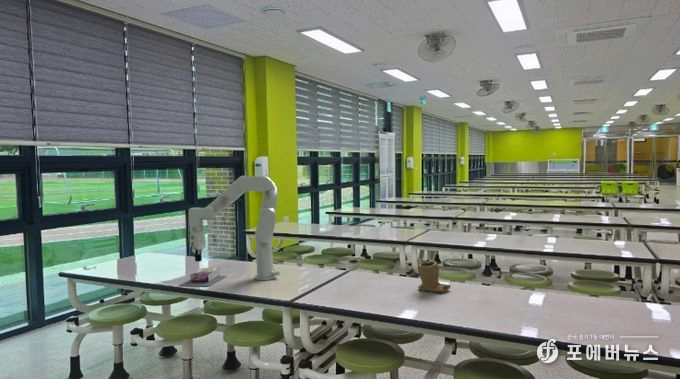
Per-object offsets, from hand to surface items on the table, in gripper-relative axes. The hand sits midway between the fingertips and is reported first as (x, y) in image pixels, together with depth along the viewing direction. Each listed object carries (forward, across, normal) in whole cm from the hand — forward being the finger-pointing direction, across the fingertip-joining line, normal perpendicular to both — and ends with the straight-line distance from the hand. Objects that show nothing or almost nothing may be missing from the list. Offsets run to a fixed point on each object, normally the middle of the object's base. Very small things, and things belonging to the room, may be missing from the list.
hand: (198, 261), depth 257 cm
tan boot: (+14, -2, -131) cm, 132 cm away
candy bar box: (+10, 0, 0) cm, 10 cm away
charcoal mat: (+13, +5, 0) cm, 14 cm away
